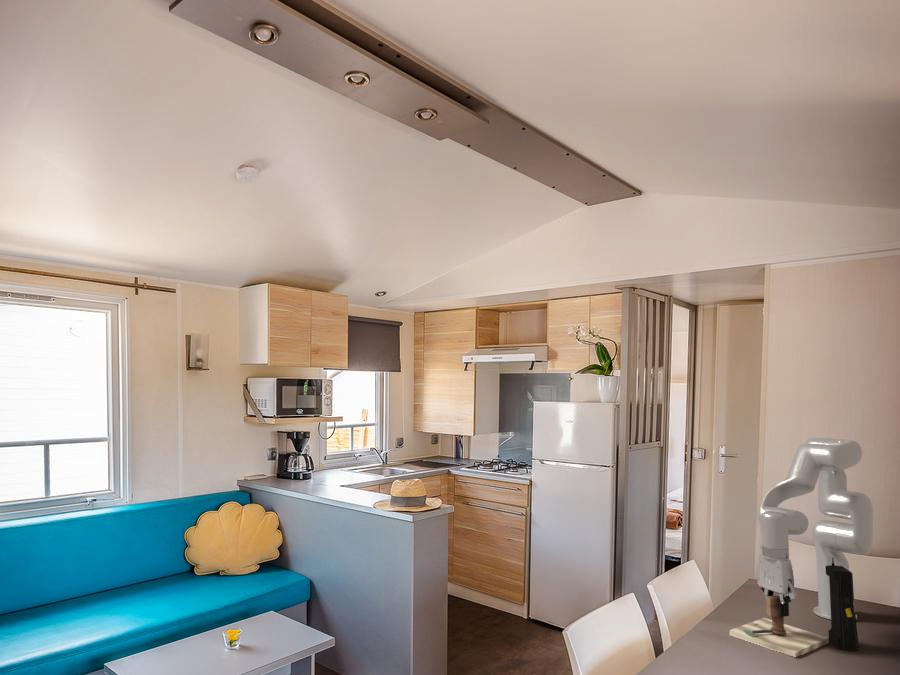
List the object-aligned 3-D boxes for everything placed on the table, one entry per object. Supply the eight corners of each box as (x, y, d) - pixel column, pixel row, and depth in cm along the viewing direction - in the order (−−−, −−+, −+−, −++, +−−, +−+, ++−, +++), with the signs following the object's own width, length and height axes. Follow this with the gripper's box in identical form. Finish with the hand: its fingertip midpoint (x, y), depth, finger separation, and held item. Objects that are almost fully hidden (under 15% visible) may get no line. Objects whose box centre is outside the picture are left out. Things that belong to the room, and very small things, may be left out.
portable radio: (861, 652, 180) (857, 564, 182) (839, 651, 181) (835, 563, 183) (850, 642, 187) (846, 558, 190) (828, 640, 189) (824, 556, 191)
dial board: (764, 622, 203) (763, 617, 204) (828, 642, 187) (828, 637, 187) (729, 635, 192) (729, 629, 192) (795, 658, 176) (795, 651, 176)
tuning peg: (782, 629, 192) (781, 594, 193) (792, 635, 188) (790, 599, 189) (748, 631, 191) (747, 595, 192) (757, 636, 186) (756, 600, 187)
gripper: (744, 547, 199) (746, 605, 197) (788, 560, 183) (791, 624, 181) (762, 545, 201) (765, 603, 199) (808, 558, 185) (810, 621, 184)
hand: (777, 612), depth 190 cm, fingers open, 4 cm apart
